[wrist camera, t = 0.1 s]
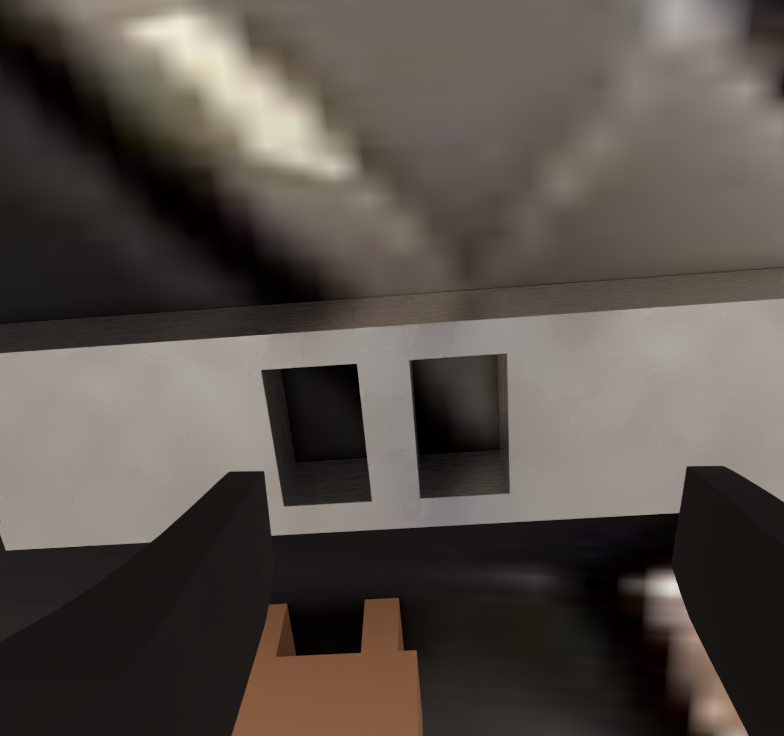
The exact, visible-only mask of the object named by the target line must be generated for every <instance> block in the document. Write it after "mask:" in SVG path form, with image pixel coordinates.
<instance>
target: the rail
mask: <svg viewBox="0 0 784 736" xmlns="http://www.w3.org/2000/svg"><path fill="white" fill-rule="evenodd" d="M491 354H498V392H499V431H500V450H487V451H471V452H454V453H438V454H421V455H419V451H418V438H417V425H416V412H415V399H414V386H413V373H412V360H417V359H432V358H447V357H461V356H476V355H491ZM343 364H357V369H358V378H359V387H360V396H361V405H362V414H363V424H364V433H365V442H366V451H367V458H356V459H339V460H323V461H306V462H296V461H295V455H294V448H293V442H292V436H291V429H290V423H289V416H288V410H287V403H286V397H285V391H284V384H283V378H282V371H281V369H283V368H298V367H313V366H328V365H343ZM687 466H725V467H727V468H729V469H731V470H732V471H734V472H736V473H738V474H740V475H741V476H743V477H745V478H746V479H748V480H750V481H751V482H753V483H755V484H756V485H758V486H759V487H761V488H763V489H764V490H766V491H767V492H769V493H771V494H772V495H774V496H775V497H777V498H779V499H780V500H782V501H783V502H784V268H773V269H759V270H745V271H731V272H717V273H703V274H690V275H676V276H662V277H648V278H634V279H620V280H606V281H592V282H578V283H564V284H550V285H536V286H522V287H508V288H494V289H481V290H467V291H453V292H439V293H425V294H411V295H397V296H383V297H369V298H355V299H341V300H327V301H313V302H299V303H285V304H272V305H258V306H244V307H230V308H216V309H202V310H188V311H174V312H160V313H146V314H132V315H118V316H104V317H90V318H76V319H63V320H49V321H35V322H21V323H7V324H0V535H1V538H2V541H3V543H4V546H5V549H6V550H22V549H40V548H58V547H76V546H93V545H111V544H129V543H147V542H152V541H153V540H154V539H155V538H157V537H158V536H159V535H160V534H162V533H163V532H164V531H165V530H166V529H167V528H168V527H169V526H170V525H172V524H173V523H174V522H175V521H176V520H177V519H178V518H179V517H180V516H182V515H183V514H184V513H185V512H186V511H187V510H188V509H189V508H190V507H191V506H193V505H194V504H195V503H196V502H197V501H198V500H199V499H200V498H201V497H202V496H203V495H204V494H205V493H206V492H207V491H208V490H210V489H211V488H212V487H213V486H214V485H215V484H216V483H217V482H218V481H219V480H220V479H221V478H222V477H223V476H225V475H226V474H227V473H228V472H229V471H264V474H265V483H266V492H267V501H268V510H269V519H270V528H271V536H273V535H291V534H308V533H326V532H344V531H362V530H380V529H398V528H416V527H434V526H452V525H470V524H488V523H506V522H523V521H541V520H559V519H577V518H595V517H613V516H631V515H649V514H667V513H679V512H680V506H681V500H682V493H683V487H684V480H685V474H686V468H687Z"/></svg>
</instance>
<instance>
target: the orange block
mask: <svg viewBox="0 0 784 736" xmlns="http://www.w3.org/2000/svg"><path fill="white" fill-rule="evenodd" d="M232 736H423V721H422V707H421V696H420V685H419V674H418V663H417V651H416V650H412V651H404V646H403V636H402V626H401V616H400V606H399V598H386V599H367V600H365V606H364V619H363V632H362V646H361V653H349V654H328V655H307V656H296V652H295V646H294V641H293V635H292V629H291V624H290V618H289V612H288V607H287V604H269V607H268V613H267V619H266V623H265V626H264V630H263V633H262V637H261V640H260V643H259V647H258V650H257V653H256V657H255V660H254V664H253V667H252V670H251V673H250V677H249V680H248V683H247V687H246V690H245V693H244V697H243V700H242V703H241V707H240V710H239V713H238V716H237V720H236V723H235V726H234V730H233V733H232Z"/></svg>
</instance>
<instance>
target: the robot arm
mask: <svg viewBox="0 0 784 736" xmlns="http://www.w3.org/2000/svg"><path fill="white" fill-rule="evenodd" d="M671 565H672V568H673V571H674V574H675V577H676V580H677V583H678V587H679V590H680V593H681V596H682V598H683V601H684V604H685V607H686V610H687V612H688V615H689V618H690V620H691V622H692V624H693V626H694V628H695V630H696V632H697V634H698V636H699V638H700V640H701V642H702V644H703V646H704V648H705V650H706V652H707V654H708V656H709V658H710V660H711V662H712V664H713V666H714V668H715V670H716V672H717V674H718V676H719V678H720V680H721V682H722V684H723V686H724V688H725V690H726V692H727V694H728V696H729V698H730V700H731V702H732V704H733V705H734V707H735V709H736V711H737V713H738V715H739V717H740V719H741V721H742V723H743V725H744V727H745V729H746V731H747V733H748V735H749V736H784V502H783V501H782V500H780V499H779V498H777V497H775V496H774V495H772V494H771V493H769V492H767V491H766V490H764V489H763V488H761V487H759V486H758V485H756V484H755V483H753V482H751V481H750V480H748V479H746V478H745V477H743V476H741V475H740V474H738V473H736V472H734V471H732V470H731V469H729V468H727V467H725V466H687V468H686V474H685V480H684V487H683V493H682V500H681V506H680V512H679V519H678V525H677V531H676V538H675V544H674V551H673V557H672V563H671ZM274 570H275V564H274V555H273V546H272V537H271V528H270V519H269V510H268V501H267V492H266V483H265V474H264V471H229V472H228V473H227V474H226V475H225V476H223V477H222V478H221V479H220V480H219V481H218V482H217V483H216V484H215V485H214V486H213V487H212V488H211V489H210V490H208V491H207V492H206V493H205V494H204V495H203V496H202V497H201V498H200V499H199V500H198V501H197V502H196V503H195V504H194V505H193V506H191V507H190V508H189V509H188V510H187V511H186V512H185V513H184V514H183V515H182V516H180V517H179V518H178V519H177V520H176V521H175V522H174V523H173V524H172V525H170V526H169V527H168V528H167V529H166V530H165V531H164V532H163V533H162V534H160V535H159V536H158V537H157V538H155V539H154V540H153V541H152V542H150V543H149V544H148V545H147V546H146V547H144V548H143V549H142V550H141V551H139V552H138V553H137V554H136V555H134V556H133V557H132V558H131V559H130V560H128V561H127V562H126V563H125V564H123V565H122V566H121V567H120V568H118V569H117V570H116V571H114V572H113V573H111V574H110V575H109V576H107V577H106V578H105V579H103V580H102V581H100V582H99V583H98V584H96V585H95V586H93V587H92V588H90V589H89V590H87V591H86V592H84V593H83V594H81V595H80V596H78V597H77V598H75V599H74V600H72V601H71V602H69V603H67V604H66V605H64V606H63V607H61V608H59V609H58V610H56V611H54V612H52V613H51V614H49V615H47V616H45V617H44V618H42V619H40V620H38V621H37V622H35V623H33V624H31V625H30V626H28V627H26V628H24V629H23V630H21V631H19V632H17V633H16V634H14V635H12V636H10V637H9V638H7V639H5V640H3V641H1V642H0V736H232V733H233V730H234V726H235V723H236V720H237V716H238V713H239V710H240V707H241V703H242V700H243V697H244V693H245V690H246V687H247V683H248V680H249V677H250V673H251V670H252V667H253V664H254V660H255V657H256V653H257V650H258V647H259V643H260V640H261V637H262V633H263V630H264V626H265V623H266V619H267V613H268V607H269V602H270V596H271V589H272V583H273V576H274Z"/></svg>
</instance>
